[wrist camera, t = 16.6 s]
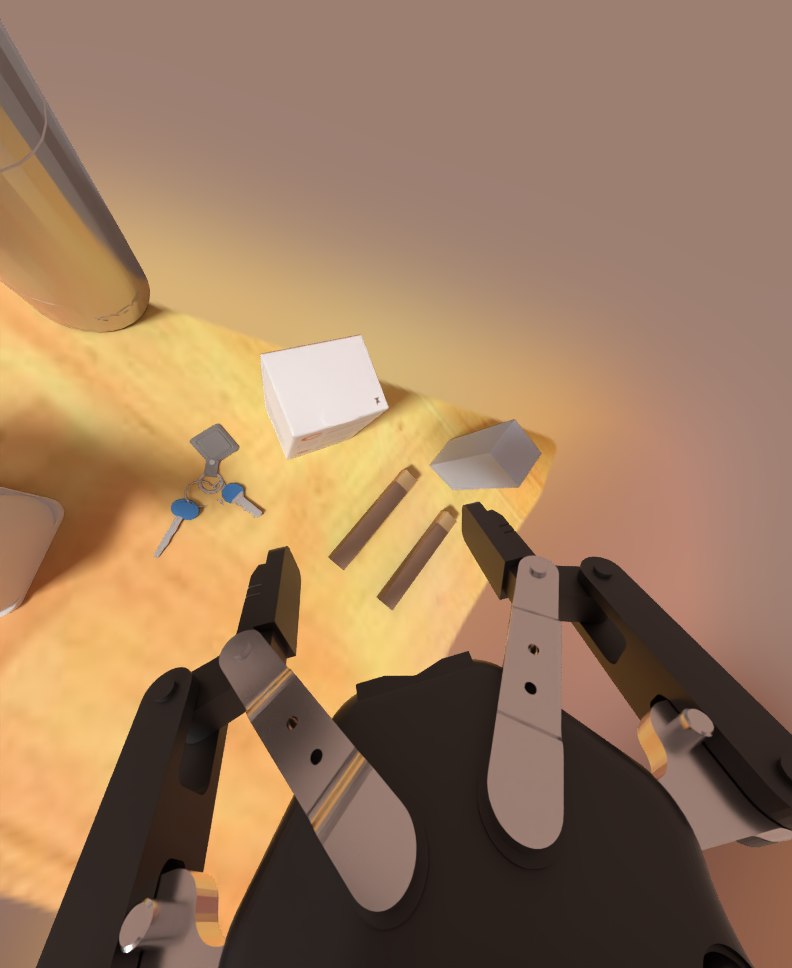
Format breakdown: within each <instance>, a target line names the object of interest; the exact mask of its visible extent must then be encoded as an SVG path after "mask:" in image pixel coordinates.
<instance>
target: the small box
mask: <svg viewBox="0 0 792 968" xmlns="http://www.w3.org/2000/svg"><path fill="white" fill-rule="evenodd" d="M260 357H261V369H262V379H263V389H264V399H265V408H266V411H267V413H268V415H269V418H270V420H271V423H272V425H273V427H274V430H275V432H276V434H277V437H278V439H279V442H280V444H281V447H282V449H283V451H284V454H285V456H286V458H287V459H288V460H289V459H292V458H295V457H298V456H301V455H304V454H307V453H310V452H313V451H316V450H319V449H322V448H325V447H328V446H331V445H334V444H337V443H340V442H342V441H345V440H348V439H350V438H352V437H353V436H354V435H355V434H357V433H358V432H359V431H360V430H361V429H363V428H364V427H365V426H367V425H368V424H369V423H371V422H372V421H373V420H375V419H376V418H377V417H378V416H380V415H381V414H382V413H383V412H385V411H386V410H387V409H388V408H389V406H388V404H387V401H386V399H385V396H384V394H383V391H382V388H381V385H380V383H379V380H378V377H377V375H376V372H375V370H374V367H373V364H372V362H371V359H370V356H369V354H368V351H367V348H366V346H365V343H364V341H363V338H362V335H355V336H350V337H345V338H340V339H335V340H330V341H324V342H320V343H314V344H309V345H304V346H298V347H294V348H289V349H284V350H278V351H273V352H268V353H263V354H261V356H260Z"/></svg>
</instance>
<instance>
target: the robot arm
mask: <svg viewBox="0 0 792 968" xmlns="http://www.w3.org/2000/svg"><path fill="white" fill-rule="evenodd" d="M0 281H2V282H3V283H4V284H5V285H7V286H8V287H9V288H10V289H12V290H13V291H14V292H15V293H17V294H18V295H19V296H20V297H22V298H23V299H24V300H25V301H27V302H28V303H29V304H30V305H32V306H33V307H34V308H35V309H37V310H38V311H39V312H40V313H42V314H43V315H45V316H47V317H48V318H50V319H52V320H53V321H55V322H57V323H60V324H62V325H65V326H67V327H70V328H74V329H78V330H82V331H91V332H107V331H114V330H118V329H122V328H124V327H126V326H128V325H130V324H132V323H134V322H135V321H136V320H138V319H139V318H140V317H141V316H142V314H143V313H144V311H145V310H146V308H147V305H148V302H149V296H150V289H149V285H148V281H147V278H146V276H145V274H144V272H143V270H142V268H141V266H140V265H139V263H138V261H137V259H136V257H135V256H134V254H133V252H132V250H131V249H130V247H129V245H128V243H127V241H126V239H125V238H124V236H123V234H122V232H121V231H120V229H119V227H118V225H117V224H116V222H115V220H114V218H113V216H112V215H111V213H110V211H109V209H108V208H107V206H106V204H105V202H104V200H103V199H102V197H101V195H100V193H99V192H98V190H97V188H96V186H95V185H94V183H93V181H92V179H91V178H90V176H89V174H88V172H87V171H86V169H85V167H84V165H83V163H82V162H81V160H80V158H79V156H78V155H77V153H76V151H75V149H74V148H73V146H72V144H71V142H70V141H69V139H68V137H67V135H66V133H65V132H64V130H63V128H62V126H61V125H60V123H59V121H58V119H57V118H56V116H55V114H54V112H53V111H52V109H51V107H50V105H49V104H48V102H47V100H46V98H45V97H44V95H43V93H42V91H41V90H40V88H39V86H38V84H37V83H36V81H35V79H34V78H33V76H32V74H31V72H30V71H29V69H28V67H27V65H26V64H25V62H24V60H23V58H22V57H21V55H20V53H19V51H18V50H17V48H16V46H15V44H14V42H13V41H12V39H11V37H10V35H9V34H8V32H7V30H6V28H5V27H4V25H3V23H2V22H1V19H0ZM462 534H463V538H464V540H465V542H466V544H467V546H468V547H469V549H470V551H471V553H472V554H473V556H474V558H475V559H476V561H477V563H478V564H479V566H480V568H481V569H482V571H483V573H484V574H485V576H486V578H487V579H488V581H489V583H490V584H491V586H492V588H493V589H494V591H495V593H496V595H497V596H498V598H499V599H500V600H502V599H505V598H509V600H510V601H511V603H512V606H511V613H510V619H509V626H508V633H507V639H506V645H505V652H504V658H503V665H502V667H500V666H498V665H496V664H493V663H491V662H487V661H483V660H476V659H474V660H473V659H472V658H471V656H470V653H469V651H467V652H464V653H460V654H457V655H454V656H450V657H447V658H443V659H441V660H439V661H438V662H436V663H435V664H433V665H432V666H430V667H429V668H427V669H425V670H424V671H422V672H421V673H419V674H417V675H415V676H383V677H379V678H376V679H372V680H369V681H366V682H362V683H359V684H356V690H357V694H356V695H354V696H353V697H351V698H350V699H349V700H348V701H346V702H345V703H344V704H343V705H342V706H341V708H340V709H339V710H338V711H337V712H336V714H335V715H334V716H333V718H332V719H331V717H330V716H329V715H328V714H327V713H326V711H325V710H324V709H323V708H322V707H321V705H320V704H319V703H318V702H317V700H316V699H315V698H314V697H313V696H312V694H311V693H310V692H309V691H308V690H307V688H306V687H305V686H304V685H303V683H302V682H301V681H300V680H299V679H298V677H297V676H296V675H295V674H294V673H293V671H292V670H291V669H289V668H288V667H287V666H286V659H287V658H290V657H294V656H296V647H297V633H298V619H299V605H300V590H301V576H300V571H299V569H298V566H297V564H296V562H295V560H294V557H293V555H292V553H291V551H290V549H289V547H288V546H285V547H281V548H277V549H272V550H269V552H268V556H267V561H266V564H261V565H258V567H257V568H256V570H255V571H254V573H253V574H252V575H251V578H250V582H249V586H248V587H249V589H248V590H247V594H246V598H245V602H244V606H243V610H242V614H241V618H240V622H239V626H238V630H237V633H236V635H235V636H234V637H233V638H231V639H230V640H229V641H228V642H227V643H226V645H225V646H224V648H223V649H222V651H221V654H220V655H219V656H218V657H217V658H215V659H213V660H212V661H210V662H208V663H206V664H205V665H203V666H201V667H199V668H197V669H196V670H194V671H192V672H191V671H189V670H188V669H187V668H183V667H179V668H175V669H172V670H170V671H168V672H166V673H165V674H163V675H162V676H160V677H159V678H158V679H157V680H156V681H155V682H154V683H153V684H152V685H151V686H150V687H149V689H148V690H147V691H146V693H145V695H144V696H143V699H142V701H141V703H140V706H139V709H138V711H137V714H136V716H135V719H134V721H133V724H132V726H131V729H130V731H129V734H128V736H127V739H126V741H125V744H124V746H123V749H122V751H121V754H120V757H119V759H118V762H117V764H116V767H115V769H114V772H113V774H112V777H111V779H110V782H109V784H108V787H107V789H106V792H105V794H104V797H103V799H102V802H101V805H100V807H99V810H98V812H97V815H96V817H95V820H94V822H93V825H92V827H91V830H90V832H89V835H88V837H87V840H86V842H85V845H84V847H83V850H82V853H81V855H80V858H79V860H78V863H77V865H76V868H75V870H74V873H73V875H72V878H71V880H70V883H69V885H68V888H67V890H66V893H65V896H64V898H63V901H62V903H61V906H60V908H59V911H58V913H57V916H56V918H55V921H54V923H53V926H52V928H51V931H50V933H49V936H48V938H47V941H46V944H45V946H44V949H43V951H42V954H41V956H40V959H39V961H38V964H37V966H36V968H754V967H753V965H752V963H751V962H750V960H749V958H748V957H747V955H746V953H745V952H744V950H743V948H742V946H741V944H740V942H739V940H738V938H737V936H736V934H735V932H734V930H733V928H732V926H731V924H730V922H729V920H728V918H727V916H726V914H725V911H724V909H723V907H722V905H721V902H720V900H719V898H718V895H717V893H716V890H715V888H714V885H713V883H712V880H711V877H710V874H709V871H708V868H707V865H706V862H705V858H704V856H703V853H702V850H704V849H708V848H711V847H715V846H718V845H721V844H725V843H729V842H732V841H737V842H739V843H741V844H744V845H746V846H750V847H761V846H765V845H769V844H773V843H778V842H782V841H786V840H790V839H792V735H791V734H790V733H789V732H788V731H787V730H786V729H785V728H784V727H783V726H782V725H781V724H780V723H779V722H778V721H777V720H776V719H775V718H774V717H773V716H772V715H771V714H770V713H769V712H768V711H767V710H766V709H764V707H763V706H762V705H761V704H760V703H759V702H757V701H756V700H755V699H754V698H753V697H752V696H751V695H750V694H749V693H748V692H747V691H746V690H745V689H744V688H743V687H742V686H741V685H740V684H739V683H738V682H737V681H736V680H735V679H734V678H733V677H732V676H731V675H730V674H729V673H728V672H727V671H726V670H725V669H724V668H722V666H721V665H720V664H718V662H716V661H715V660H714V659H713V658H712V657H711V656H710V655H709V654H708V653H707V652H706V651H705V650H704V649H703V648H702V647H701V646H700V645H699V644H698V643H697V642H696V641H695V640H694V639H693V638H692V637H691V636H690V635H689V634H688V633H687V632H686V631H685V630H683V628H682V627H681V626H680V625H678V624H677V622H675V621H674V620H673V619H672V618H671V617H670V616H669V615H668V614H667V613H666V612H665V611H664V610H663V609H662V608H661V607H660V606H659V605H658V604H657V603H656V602H655V601H654V600H653V599H652V598H651V597H650V596H649V595H648V594H647V593H646V592H645V591H644V590H643V589H642V588H640V586H639V585H638V584H637V583H635V582H634V581H633V580H632V579H631V578H630V577H629V576H628V575H627V574H626V573H625V572H624V571H623V570H622V569H621V568H620V567H619V566H618V565H616V564H615V563H613V562H612V561H610V560H607V559H604V558H600V557H588V558H586V559H584V560H583V561H582V563H581V565H580V567H577V566H556V565H554V564H553V563H552V562H551V561H549V560H548V559H546V558H543V557H540V556H536V555H535V554H534V553H533V552H532V550H531V549H530V548H529V547H528V546H527V544H526V543H525V542H524V541H523V540H522V539H521V537H520V536H519V535H518V534H517V532H516V531H514V529H513V528H512V527H511V525H509V523H508V522H507V521H506V519H505V518H504V517H503V516H502V515H500V514H499V513H497V512H495V511H494V510H489V511H487V510H486V509H485V508H484V507H483V505H482V504H481V503H480V502H475V503H471V504H466V505H463V507H462ZM561 621H567V622H572V624H573V625H574V627H575V628H576V630H577V631H578V632H579V634H580V635H581V637H582V638H583V640H584V641H585V642H586V644H587V645H588V647H589V648H590V649H591V651H592V652H593V654H594V655H595V657H596V658H597V659H598V661H599V662H600V664H601V665H602V667H603V668H604V669H605V671H606V672H607V674H608V675H609V677H610V678H611V679H612V681H613V682H614V684H615V685H616V687H617V688H618V689H619V691H620V692H621V694H622V695H623V696H624V698H625V699H626V700H627V702H628V703H629V705H630V706H631V708H632V709H633V711H634V712H635V713H636V715H637V716H638V718H639V719H640V722H639V723H638V727H637V733H638V738H639V741H640V743H641V746H642V747H643V749H644V751H645V753H646V755H647V757H648V759H649V762H650V766H651V771H652V774H651V773H650V772H649V771H648V770H647V769H645V768H644V767H643V766H642V765H640V764H639V763H638V762H636V761H635V760H633V759H632V758H631V757H629V756H628V755H626V754H625V753H623V752H622V751H621V750H619V749H618V748H616V747H615V746H614V745H612V744H610V743H609V742H608V741H606V740H605V739H604V738H602V737H601V736H599V735H598V734H596V733H595V732H593V731H592V730H591V729H589V728H588V727H587V726H585V725H584V724H582V723H581V722H580V721H578V720H577V719H575V718H574V717H572V716H571V715H570V714H568V713H567V712H565V711H564V710H562V709H561V652H562V650H561V649H562V647H561V646H562V642H561V641H562V625H561ZM246 711H247V712H246ZM245 712H246V714H247V716H248V718H249V720H250V722H251V724H252V725H253V727H254V729H255V730H256V732H257V734H258V735H259V737H260V739H261V740H262V742H263V743H264V745H265V747H266V748H267V750H268V752H269V753H270V755H271V757H272V758H273V760H274V762H275V763H276V765H277V767H278V768H279V770H280V772H281V773H282V775H283V777H284V778H285V780H286V782H287V783H288V785H289V787H290V788H291V790H292V792H293V793H294V795H293V798H292V800H291V802H290V804H289V806H288V808H287V810H286V812H285V814H284V816H283V818H282V820H281V822H280V824H279V826H278V828H277V830H276V832H275V834H274V836H273V838H272V840H271V842H270V844H269V846H268V848H267V850H266V852H265V854H264V857H263V859H262V861H261V863H260V865H259V867H258V869H257V871H256V873H255V875H254V877H253V879H252V881H251V883H250V885H249V887H248V889H247V891H246V893H245V895H244V897H243V899H242V901H241V903H240V905H239V907H238V910H237V912H236V914H235V916H234V919H233V921H232V923H231V926H230V929H229V931H228V934H227V937H226V939H225V937H224V936H223V935H222V932H221V930H220V926H219V921H218V899H219V897H218V888H217V884H216V882H215V880H214V879H213V877H212V876H211V875H209V874H207V873H203V870H204V864H205V858H206V852H207V846H208V841H209V835H210V829H211V823H212V817H213V811H214V805H215V799H216V793H217V787H218V781H219V775H220V769H221V763H222V757H223V752H224V746H225V740H226V734H227V728H228V723H229V722H231V721H232V720H234V719H235V718H237V717H238V716H240V715H241V714H243V713H245Z"/></svg>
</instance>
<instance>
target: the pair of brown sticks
mask: <svg viewBox="0 0 792 968" xmlns="http://www.w3.org/2000/svg"><path fill="white" fill-rule="evenodd" d="M416 481H417V480H416V479H415V478H414V477H413V476H412V475H411V474H410V473H409V472H408V471H407V470H402V471H401V472H400V473H399V474H398V475H397V477H396V478H395V479H394V480H393V481H392V482H391V484H390V485H389V486H388V487H387V488H386V490H385V491H384V492H383V493H382V494H381V495H380V497H379V498H378V499H377V500H376V501H375V502H374V504H373V505H372V506H371V507H370V508H369V510H368V511H367V512H366V513H365V514H364V515H363V517H362V518H361V519H360V520H359V521H358V523H357V524H356V525H355V526H354V527H353V528H352V530H351V531H350V532H349V533H348V534H347V535H346V537H345V538H344V539H343V540H342V541H341V543H340V544H339V545H338V546H337V547H336V548H335V550H334V551H333V552H332V553H331V554H330V556H329V558H330V559H331V560H332V561H333V562H334V563H335V564H337V565H338V566H339V567H340V568H342V569H343V570H344V569H345V568H346V567H347V566H348V565H349V563H350V562H351V561H352V560H353V558H354V557H355V556H356V555H357V553H358V552H359V551H360V550H361V549H362V547H363V546H364V545H365V544H366V542H367V541H368V540H369V539H370V538H371V536H372V535H373V534H374V533H375V531H376V530H377V529H378V528H379V526H380V525H381V524H382V523H383V522H384V520H385V519H386V518H387V517H388V515H389V514H390V513H391V512H392V511H393V509H394V508H395V507H396V506H397V504H398V503H399V502H400V501H401V499H402V498H403V497H404V496H405V495H406V493H407V492H408V491H409V490H410V488H411V487H412V486H413V485H414V484H415V482H416ZM455 523H456V520H455V519H454V518H453V517H452V516H451V515H450V514H449V513H448V512H447V511H441V512H440V513H439V514H438V516H437V517H436V518H435V520H434V521H433V522H432V524H431V525H430V526H429V528H428V529H427V530H426V532H425V533H424V534H423V536H422V537H421V538H420V540H419V541H418V542H417V544H416V545H415V546H414V548H413V549H412V550H411V552H410V553H409V554H408V556H407V557H406V558H405V560H404V561H403V562H402V564H401V565H400V566H399V568H398V569H397V570H396V572H395V573H394V574H393V576H392V577H391V578H390V580H389V581H388V582H387V584H386V585H385V586H384V588H383V589H382V590H381V592H380V593H379V594H378V596H377V598H378V599H379V600H380V601H382V602H383V603H384V604H385V605H386V606H388V607H389V608H390V609H391V610H393V609H394V608H395V606H396V605H397V603H398V602H399V601H400V599H401V598H402V596H403V595H404V594H405V592H406V591H407V589H408V588H409V587H410V585H411V584H412V583H413V581H414V580H415V578H416V577H417V576H418V574H419V573H420V571H421V570H422V569H423V567H424V566H425V564H426V563H427V562H428V560H429V559H430V557H431V556H432V555H433V553H434V552H435V551H436V549H437V548H438V546H439V545H440V544H441V542H442V541H443V539H444V538H445V537H446V535H447V534H448V532H449V531H450V530H451V528H452V527H453V525H454V524H455Z"/></svg>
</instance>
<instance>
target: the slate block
mask: <svg viewBox="0 0 792 968" xmlns="http://www.w3.org/2000/svg"><path fill="white" fill-rule="evenodd" d="M540 455H541V452H540V451H539V449H538V448H537V447H536V446H535V444H534V443H533V442H532V440H531V439H530V438H529V437H528V435H527V434H526V433H525V432H524V430H523V429H522V428H521V426H520V425H519V424H518V423H517V421H516V420H515V419H514V420H510V421H507V422H504V423H501V424H498V425H495V426H492V427H489V428H486V429H483V430H480V431H477V432H473V433H470V434H467V435H464V436H461V437H458V438H455V439H452V440H450V441H449V442H448V443H447V444H446V445H445V447H444V448H443V449H442V450H441V452H440V453H439V454H438V455H437V456H436V458H435V459H434V460H433V461H432V463H431V464H430V465H429V466H430V467H431V468H432V469H433V470H434V471H435V472H436V473H437V474H438V475H439V476H440V477H441V478H442V480H443V481H444V482H445V483H446V484H447V485H448V486H449V487H450V488H451V489H452V490H468V489H491V488H515V487H519V486H520V485H521V483H522V482H523V480H524V479H525V477H526V476H527V474H528V473H529V471H530V470H531V468H532V467H533V465H534V464H535V462H536V461H537V459H538V458H539V456H540Z"/></svg>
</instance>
